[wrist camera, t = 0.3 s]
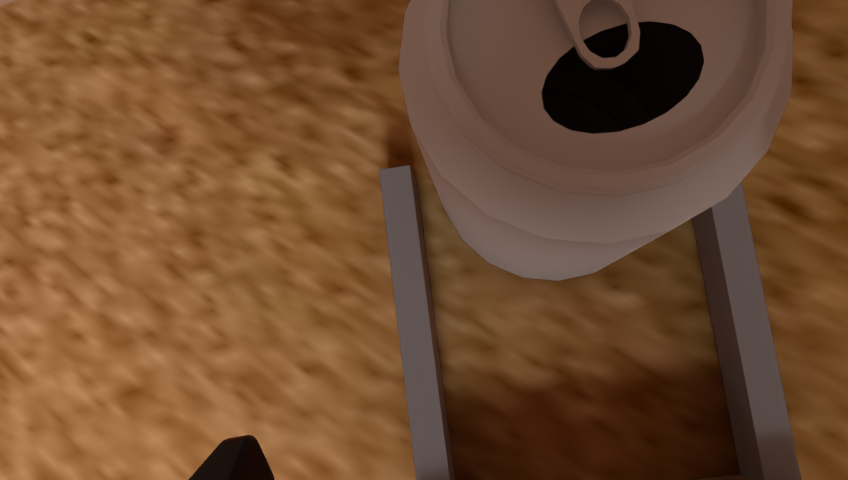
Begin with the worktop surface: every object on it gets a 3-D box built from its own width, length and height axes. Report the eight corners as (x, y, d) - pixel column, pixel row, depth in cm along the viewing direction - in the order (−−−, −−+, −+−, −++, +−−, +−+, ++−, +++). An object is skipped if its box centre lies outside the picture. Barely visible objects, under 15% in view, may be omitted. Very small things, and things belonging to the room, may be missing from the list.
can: (486, 315, 23) (479, 300, 11) (408, 118, 24) (324, -91, 12) (695, 234, 22) (927, 125, 10) (605, 38, 23) (721, -259, 12)
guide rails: (773, 470, 21) (802, 485, 19) (428, 507, 22) (421, 525, 20) (707, 135, 23) (728, 117, 21) (388, 183, 24) (379, 169, 22)
